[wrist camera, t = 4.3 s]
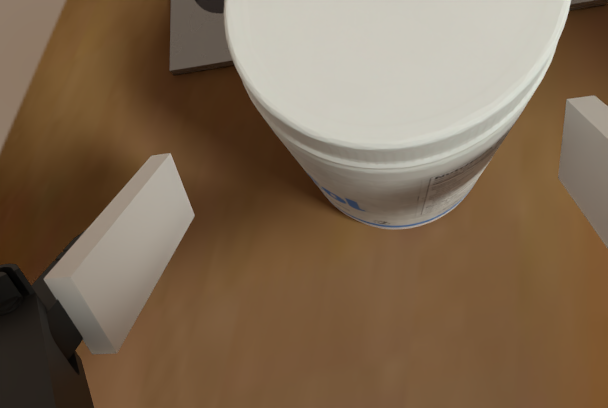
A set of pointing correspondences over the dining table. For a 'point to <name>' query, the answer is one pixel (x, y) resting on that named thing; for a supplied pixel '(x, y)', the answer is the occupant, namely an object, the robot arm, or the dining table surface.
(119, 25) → the dining table surface
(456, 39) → the supplement tub
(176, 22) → the grey flat rectangular plate
